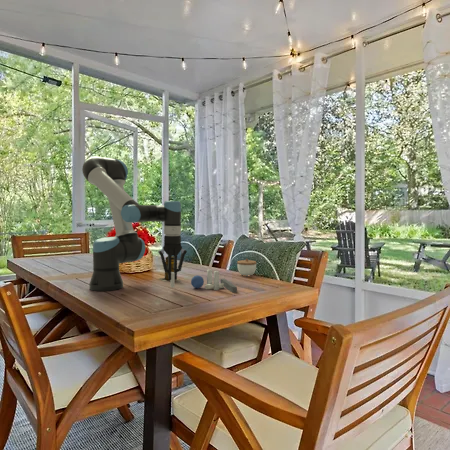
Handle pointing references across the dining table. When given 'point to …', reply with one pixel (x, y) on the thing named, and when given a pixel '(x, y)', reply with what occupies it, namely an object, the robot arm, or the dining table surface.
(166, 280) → the condiment
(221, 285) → the front pin
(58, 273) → the dining table surface
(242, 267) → the lidded jar
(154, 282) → the dining table surface
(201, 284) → the ball
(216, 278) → the back pin right
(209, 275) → the back pin left
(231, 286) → the stopper bar
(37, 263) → the dining table surface
